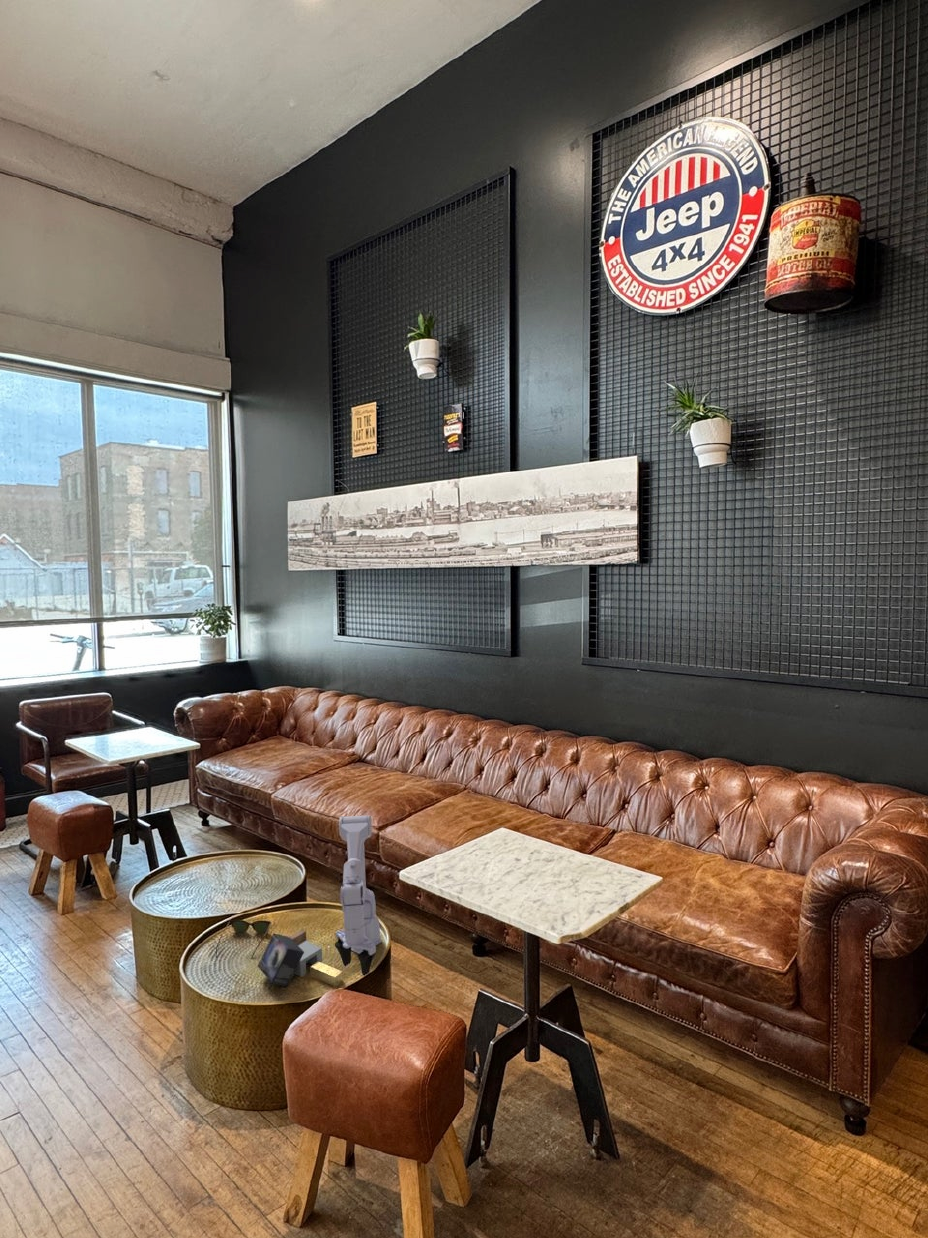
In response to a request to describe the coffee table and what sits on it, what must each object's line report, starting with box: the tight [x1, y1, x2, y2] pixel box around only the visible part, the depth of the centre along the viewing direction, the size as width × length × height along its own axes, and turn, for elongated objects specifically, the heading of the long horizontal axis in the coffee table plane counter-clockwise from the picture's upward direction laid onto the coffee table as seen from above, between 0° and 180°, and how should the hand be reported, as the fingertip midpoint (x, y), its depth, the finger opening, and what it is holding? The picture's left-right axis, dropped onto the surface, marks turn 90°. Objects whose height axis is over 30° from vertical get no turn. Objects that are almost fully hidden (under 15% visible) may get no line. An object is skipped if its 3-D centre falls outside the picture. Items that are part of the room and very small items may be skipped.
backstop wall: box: [288, 929, 307, 945], centre depth 228 cm, size 13×2×6 cm, turn 142°
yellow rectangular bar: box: [309, 961, 343, 987], centre depth 218 cm, size 3×10×3 cm, turn 57°
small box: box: [257, 932, 304, 987], centre depth 218 cm, size 11×6×10 cm
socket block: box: [293, 940, 324, 978], centre depth 224 cm, size 8×7×5 cm
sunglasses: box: [215, 919, 272, 959], centre depth 236 cm, size 14×15×5 cm
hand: (356, 969), depth 209 cm, fingers open, 7 cm apart
